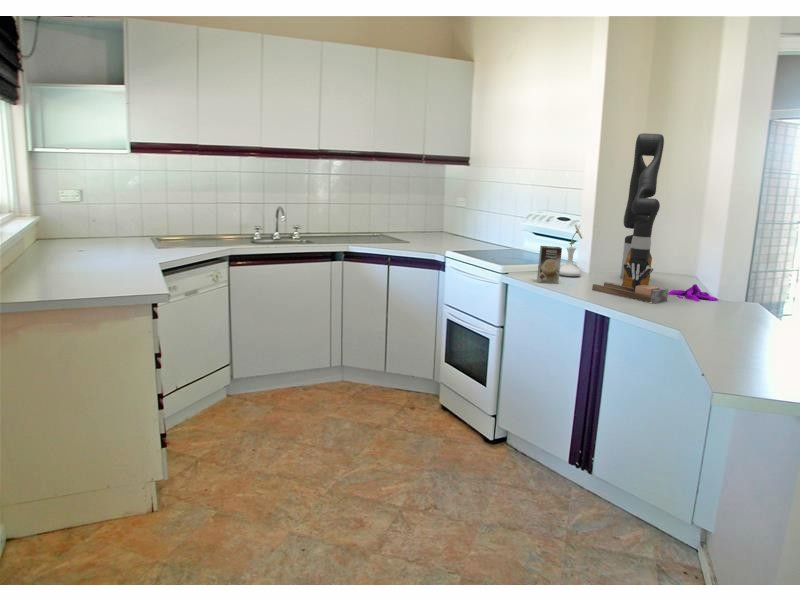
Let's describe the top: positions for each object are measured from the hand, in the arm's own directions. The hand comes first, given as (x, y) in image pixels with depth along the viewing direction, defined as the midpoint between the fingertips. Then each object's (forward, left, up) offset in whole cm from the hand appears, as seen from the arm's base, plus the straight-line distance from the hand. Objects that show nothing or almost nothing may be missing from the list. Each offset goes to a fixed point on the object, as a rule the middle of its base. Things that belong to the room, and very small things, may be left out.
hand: (635, 288), depth 270 cm
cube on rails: (0, -4, -4) cm, 5 cm away
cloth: (-23, +13, -4) cm, 27 cm away
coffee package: (-18, -12, -4) cm, 22 cm away
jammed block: (0, +5, -4) cm, 6 cm away
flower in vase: (-15, -46, -4) cm, 48 cm away
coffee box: (+8, -40, -4) cm, 41 cm away
